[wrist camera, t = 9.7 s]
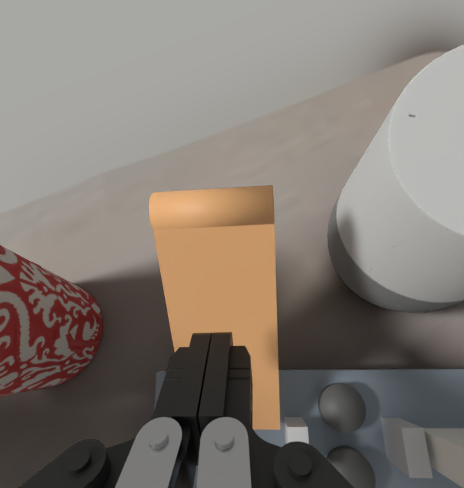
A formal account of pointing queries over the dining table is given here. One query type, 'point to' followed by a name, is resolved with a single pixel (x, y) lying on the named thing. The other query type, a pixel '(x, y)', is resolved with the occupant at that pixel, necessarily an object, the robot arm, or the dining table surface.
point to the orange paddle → (223, 277)
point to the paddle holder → (368, 420)
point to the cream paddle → (446, 452)
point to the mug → (43, 326)
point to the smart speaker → (408, 199)
